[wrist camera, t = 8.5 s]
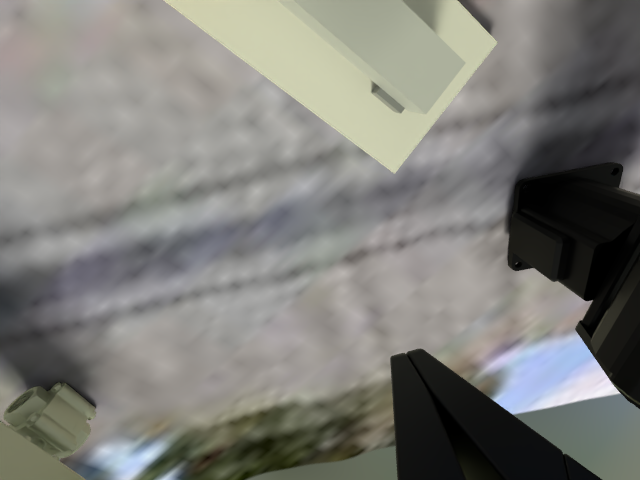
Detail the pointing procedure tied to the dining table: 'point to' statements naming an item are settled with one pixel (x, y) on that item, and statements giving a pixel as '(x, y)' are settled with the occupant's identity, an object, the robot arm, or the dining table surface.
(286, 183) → the dining table surface
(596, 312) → the robot arm
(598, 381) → the dining table surface
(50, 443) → the pneumatic valve
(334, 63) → the pipe stand
